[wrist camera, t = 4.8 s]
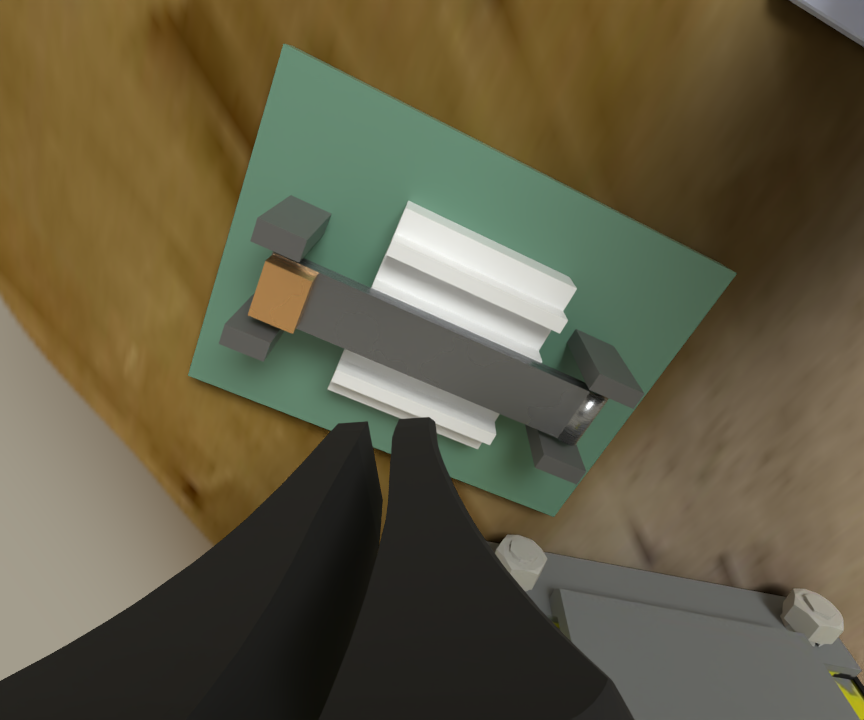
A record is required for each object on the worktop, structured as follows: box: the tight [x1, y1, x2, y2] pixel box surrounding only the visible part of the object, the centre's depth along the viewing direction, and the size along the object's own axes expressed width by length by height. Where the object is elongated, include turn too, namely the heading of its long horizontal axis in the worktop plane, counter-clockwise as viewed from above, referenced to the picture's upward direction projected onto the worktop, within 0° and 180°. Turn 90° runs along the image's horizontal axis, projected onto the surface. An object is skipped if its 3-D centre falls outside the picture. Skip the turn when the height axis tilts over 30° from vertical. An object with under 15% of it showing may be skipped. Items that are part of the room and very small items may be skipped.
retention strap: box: [248, 251, 609, 446], centre depth 17 cm, size 11×2×1 cm, turn 65°
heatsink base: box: [188, 44, 737, 517], centre depth 18 cm, size 16×12×4 cm
